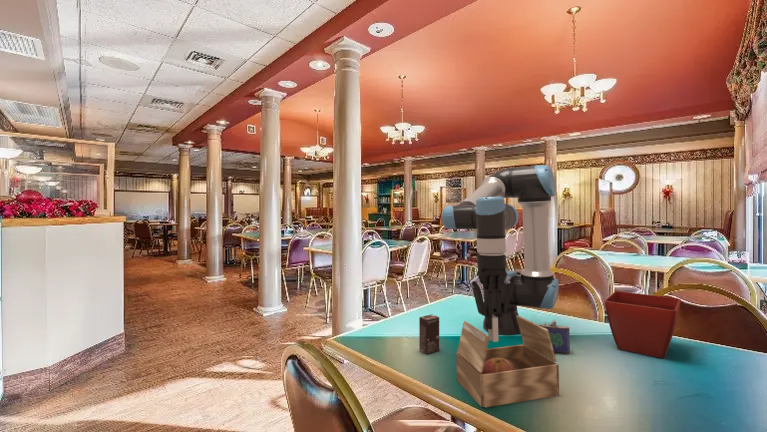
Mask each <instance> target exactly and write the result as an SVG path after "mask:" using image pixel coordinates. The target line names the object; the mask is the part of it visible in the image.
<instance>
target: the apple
mask: <svg viewBox="0 0 767 432" xmlns="http://www.w3.org/2000/svg"><path fill="white" fill-rule="evenodd" d="M511 370H515V368H514V366H513V364H512V363H511V362H510V361H508V360H506V359H503V358H492V359H489V360H487V361H486V362H485V363H484V366H483V370H482V374H490V373H497V372H504V371H511Z"/></svg>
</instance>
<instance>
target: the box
mask: <svg viewBox="0 0 767 432" xmlns="http://www.w3.org/2000/svg"><path fill="white" fill-rule="evenodd" d="M418 324H419V325H418V326H419V334H418V336H419V341H418V342H419V343H418V344H419V351H420V352H421V353H422V354H425V355H429V354H432V353H435V352H438V351H440V316H437V315H435V314H429V315H423V316H419V323H418Z"/></svg>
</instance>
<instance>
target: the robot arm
mask: <svg viewBox="0 0 767 432" xmlns="http://www.w3.org/2000/svg"><path fill="white" fill-rule="evenodd" d="M555 180H556V179H555V176H554V173H553V170H552V168H551V167H550V166H548V165H545V164H544V165H539V164H538V165H537V164H535V165H530V166H518V167H507V168H504V169H501V170H498V171H496V172H494V173H492V174H490V175H489V176H487V177H486V178H484V179H483V180H482V181H481V184H480V186H478V188H477V189H475V190H474V191H473V192H471V193H470V194H469V195H468V196H467V197H466V198H465V199H463V200H462V201H461V202H460V203H458V204H457V205H456V204H455V205H453V204H452V205H447V206H446V205H445V206H444V208H443V209H442V212H441V221H442V226H443V227H444V228H445V229H448V230H456V231H457V230H476V251H477V253H478V254H477V255H476V260H477V261H476V263H477V265H476V266H477V272H476V277H474V278H473V279H469V280H468V284H469V286H470V287H471V288H472V289H471V290H472V293H473V296H474V301H475V305H476V309H477V312H478V314H480V315H481V316H484V318H483V324H482V326H483V329H484V330H485V331H486V332H488V333H487V335H488V336H489V337H490V338H489V341H491V342H493V343H498V342H499V335H504V336H509V335H518V334H521V332H520V328H519V324H518V321H517V317H516V316H517V315H519V316H520V314H519V312H518V306H519V307H527V308H535V309H540V310H542V309H545V310H552V309H553V308H555V306H556V304H557V300H558V296H559V289H560V283H559V282H560V281H559V279H558V278H556V277H554V275H555V274H554V272H553V271H552V270H551V269H550V265H549V264H550V261H549V259H550V258H549V234H548V233H549V232H548V230H549V229H548V206H549V205H550V203H551V201H552V197H555V196H556V194H557V187H556V181H555ZM505 199H517V204H519V205H520V206H521V209H522V211H521V212H522V226H523V227H522V231H523V232H522V233H523V236H522V237H523V257H524V259H523V260H524V268H523V269H522V270H521V271H520V275H518V273H517V272H516V271H515V270H506V268H507V256H506V252H507V246H506V245H507V243H506V242H507V241H506V230H509V229H511V228H513V227H515V226H516V224H517V223H518V221H519V218H520V216H519V215H520V214H519V212H518V210H517V208H516V207H515V206H513V205H511V204H508V203H505ZM481 285H482V289H481V287H480V286H481ZM482 290H483V291H482ZM482 292H483V294H482Z"/></svg>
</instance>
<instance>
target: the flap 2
mask: <svg viewBox="0 0 767 432" xmlns="http://www.w3.org/2000/svg"><path fill="white" fill-rule="evenodd" d="M516 317H517V321H518V324H519V328H520V335H521V339H522V343H523V344H524V345H526V346H528V347H529V348H531V349H533V350H534V351H536V352H538V353H539V354H541V355H543V356H544V357H546V358H548V359H549V360H551V361H553V362H555V363H556V362H557V359H556V355H555V354H556V353H554V350H553V347H552V343H551V339H550V335H549V332H548V329H546V328H544V327H542V326H540V324H537V323H535V322H533V321H531V320H529V319H526V318H524V317H522V316H520V314H519V315H517V316H516Z"/></svg>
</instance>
